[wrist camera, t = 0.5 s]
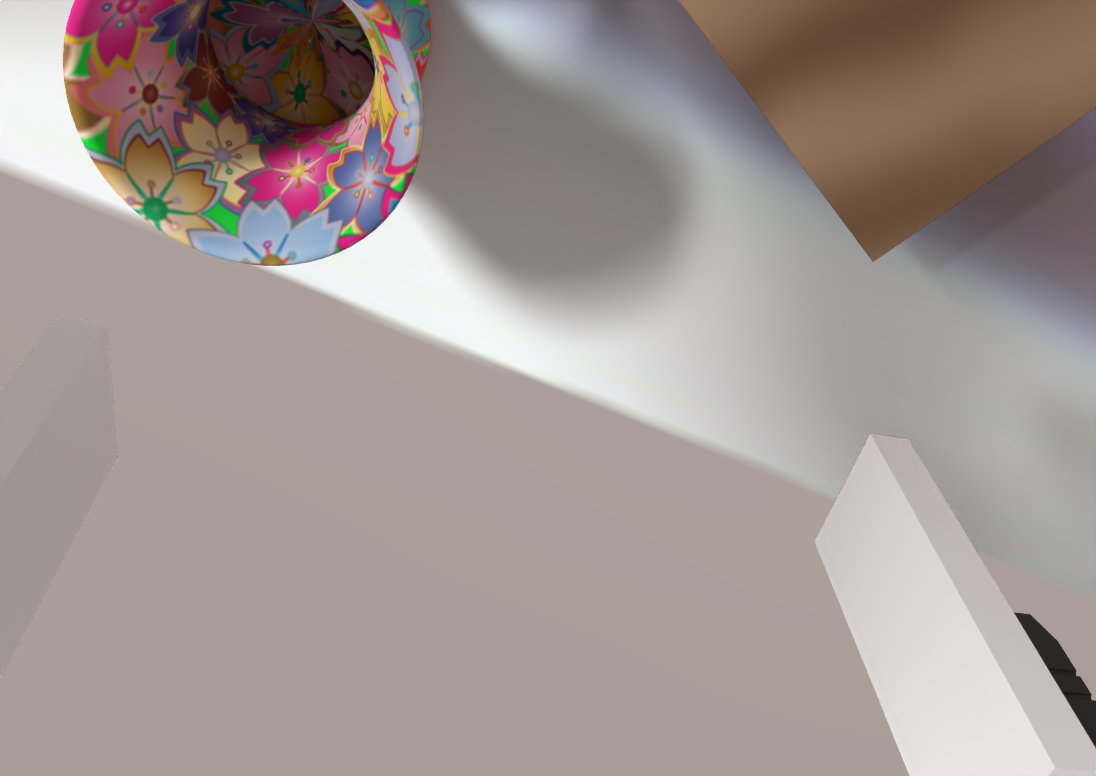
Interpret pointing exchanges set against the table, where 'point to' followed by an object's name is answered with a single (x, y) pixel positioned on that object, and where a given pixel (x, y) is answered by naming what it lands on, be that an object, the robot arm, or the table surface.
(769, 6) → the stool
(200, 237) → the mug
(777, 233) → the table surface
